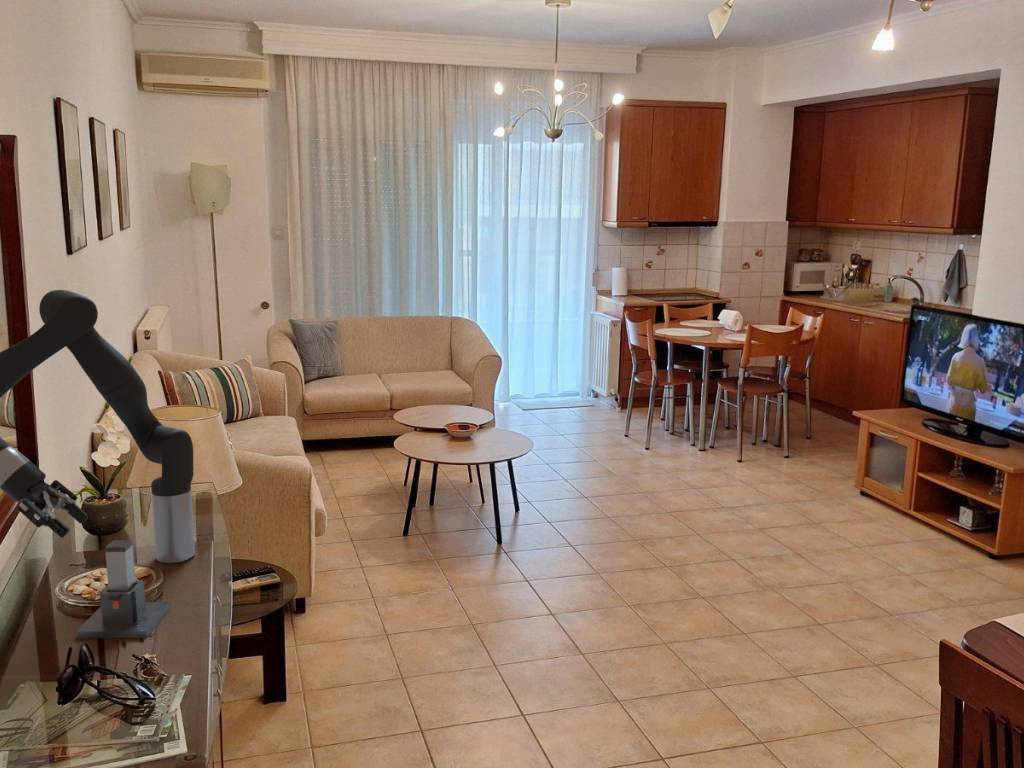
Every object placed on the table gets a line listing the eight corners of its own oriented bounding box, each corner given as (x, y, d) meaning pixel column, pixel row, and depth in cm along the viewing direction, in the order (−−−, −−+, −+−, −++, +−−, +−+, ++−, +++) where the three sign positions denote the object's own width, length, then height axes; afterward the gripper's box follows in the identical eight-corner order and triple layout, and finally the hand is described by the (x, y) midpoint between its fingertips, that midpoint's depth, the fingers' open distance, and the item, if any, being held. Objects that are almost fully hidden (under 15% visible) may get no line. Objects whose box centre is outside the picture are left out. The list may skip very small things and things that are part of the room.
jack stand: (105, 608, 197) (102, 574, 196) (170, 608, 198) (167, 573, 196) (76, 638, 184) (73, 601, 182) (146, 637, 184) (143, 600, 183)
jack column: (118, 610, 192) (112, 540, 189) (137, 610, 192) (132, 540, 189) (110, 619, 188) (104, 547, 185) (130, 619, 188) (124, 547, 185)
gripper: (7, 470, 177) (72, 526, 179) (43, 451, 191) (102, 503, 193) (-17, 497, 178) (47, 552, 180) (19, 476, 192) (79, 527, 194)
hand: (76, 527), depth 187 cm, fingers open, 8 cm apart
